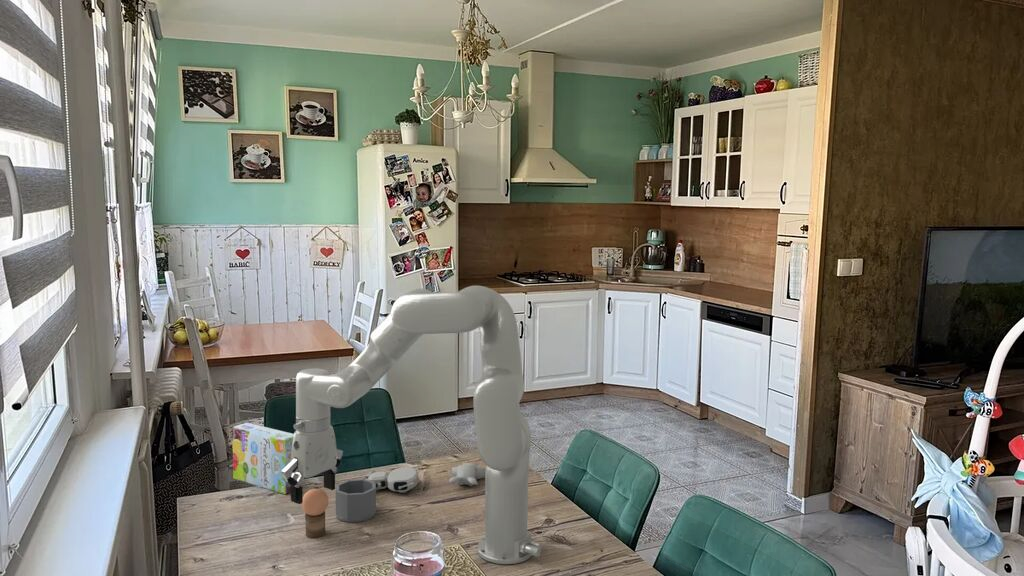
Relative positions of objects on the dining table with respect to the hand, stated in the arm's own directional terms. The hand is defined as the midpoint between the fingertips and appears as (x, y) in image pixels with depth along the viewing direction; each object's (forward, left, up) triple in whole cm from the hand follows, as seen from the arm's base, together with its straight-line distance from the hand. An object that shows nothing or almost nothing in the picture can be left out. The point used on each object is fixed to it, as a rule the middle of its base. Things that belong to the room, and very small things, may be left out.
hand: (313, 495), depth 164 cm
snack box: (+34, -13, -10) cm, 37 cm away
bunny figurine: (-11, -45, -10) cm, 47 cm away
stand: (0, 0, -9) cm, 9 cm away
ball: (0, 0, -2) cm, 2 cm away
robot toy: (+4, -30, -10) cm, 32 cm away
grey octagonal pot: (0, -13, -9) cm, 16 cm away
